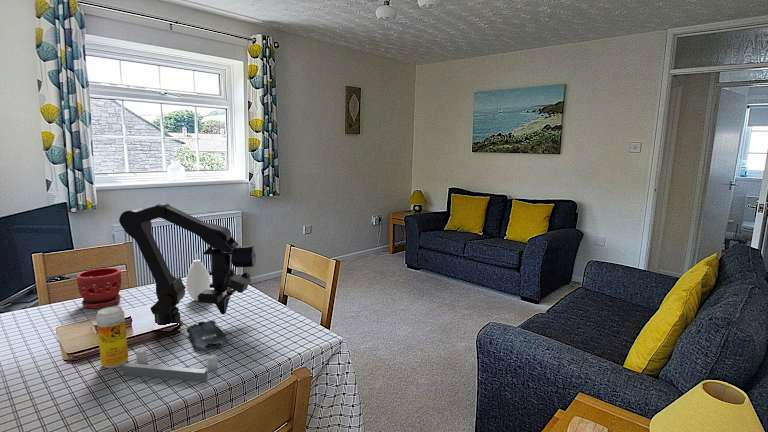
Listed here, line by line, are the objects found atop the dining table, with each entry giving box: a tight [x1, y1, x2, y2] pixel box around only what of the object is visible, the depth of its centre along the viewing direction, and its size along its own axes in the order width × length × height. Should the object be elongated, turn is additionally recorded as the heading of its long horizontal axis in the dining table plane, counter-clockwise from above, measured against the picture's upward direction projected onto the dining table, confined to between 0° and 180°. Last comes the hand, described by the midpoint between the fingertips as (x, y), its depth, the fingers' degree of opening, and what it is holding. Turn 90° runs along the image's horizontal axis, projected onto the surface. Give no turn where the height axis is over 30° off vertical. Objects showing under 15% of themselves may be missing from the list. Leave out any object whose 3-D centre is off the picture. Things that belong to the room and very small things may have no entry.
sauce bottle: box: [185, 253, 211, 302], centre depth 152 cm, size 8×8×18 cm
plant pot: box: [76, 267, 122, 309], centre depth 148 cm, size 13×13×12 cm
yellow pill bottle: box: [96, 305, 129, 369], centre depth 108 cm, size 6×6×15 cm
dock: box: [121, 348, 219, 383], centre depth 106 cm, size 22×7×4 cm, turn 83°
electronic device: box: [186, 319, 228, 352], centre depth 123 cm, size 9×6×15 cm
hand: (223, 313), depth 132 cm, fingers closed
